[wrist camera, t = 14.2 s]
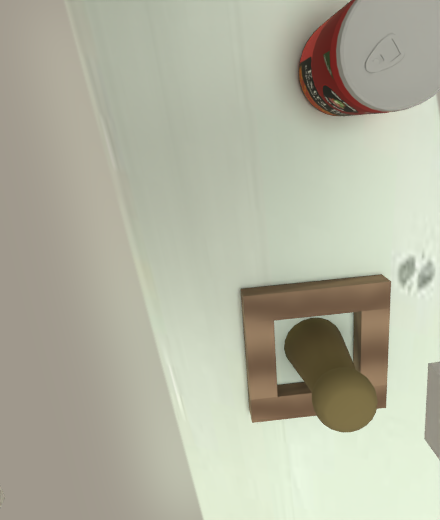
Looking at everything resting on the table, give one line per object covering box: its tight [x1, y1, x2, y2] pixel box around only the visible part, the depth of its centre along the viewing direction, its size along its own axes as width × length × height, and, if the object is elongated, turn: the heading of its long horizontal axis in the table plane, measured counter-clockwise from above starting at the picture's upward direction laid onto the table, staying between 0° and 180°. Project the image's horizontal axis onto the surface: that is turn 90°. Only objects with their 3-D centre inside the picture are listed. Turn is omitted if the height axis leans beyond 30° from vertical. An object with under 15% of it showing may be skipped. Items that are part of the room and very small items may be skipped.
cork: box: [284, 318, 378, 432], centre depth 38 cm, size 6×6×11 cm
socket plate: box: [241, 275, 391, 423], centre depth 42 cm, size 14×14×2 cm
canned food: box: [299, 0, 440, 116], centre depth 31 cm, size 8×8×11 cm
